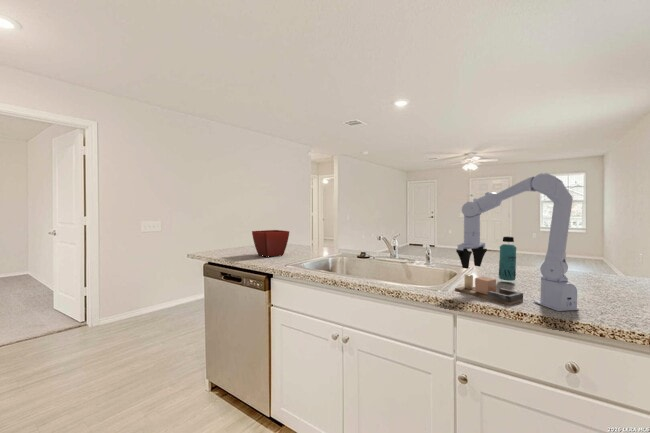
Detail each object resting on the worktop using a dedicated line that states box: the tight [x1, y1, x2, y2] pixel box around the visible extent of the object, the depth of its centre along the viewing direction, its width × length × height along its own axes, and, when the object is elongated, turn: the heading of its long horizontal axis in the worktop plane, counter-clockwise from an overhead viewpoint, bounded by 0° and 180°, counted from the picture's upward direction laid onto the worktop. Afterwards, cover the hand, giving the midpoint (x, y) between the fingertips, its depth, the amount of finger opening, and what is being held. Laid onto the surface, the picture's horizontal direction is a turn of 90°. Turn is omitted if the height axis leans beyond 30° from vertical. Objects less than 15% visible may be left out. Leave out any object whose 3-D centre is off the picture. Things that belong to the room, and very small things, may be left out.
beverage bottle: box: [498, 236, 517, 282], centre depth 133 cm, size 6×7×20 cm
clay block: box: [463, 273, 497, 295], centre depth 118 cm, size 11×5×5 cm, turn 30°
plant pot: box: [251, 229, 290, 258], centre depth 209 cm, size 19×19×17 cm
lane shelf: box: [454, 285, 524, 306], centre depth 114 cm, size 21×8×3 cm, turn 30°
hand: (471, 267), depth 121 cm, fingers open, 7 cm apart
